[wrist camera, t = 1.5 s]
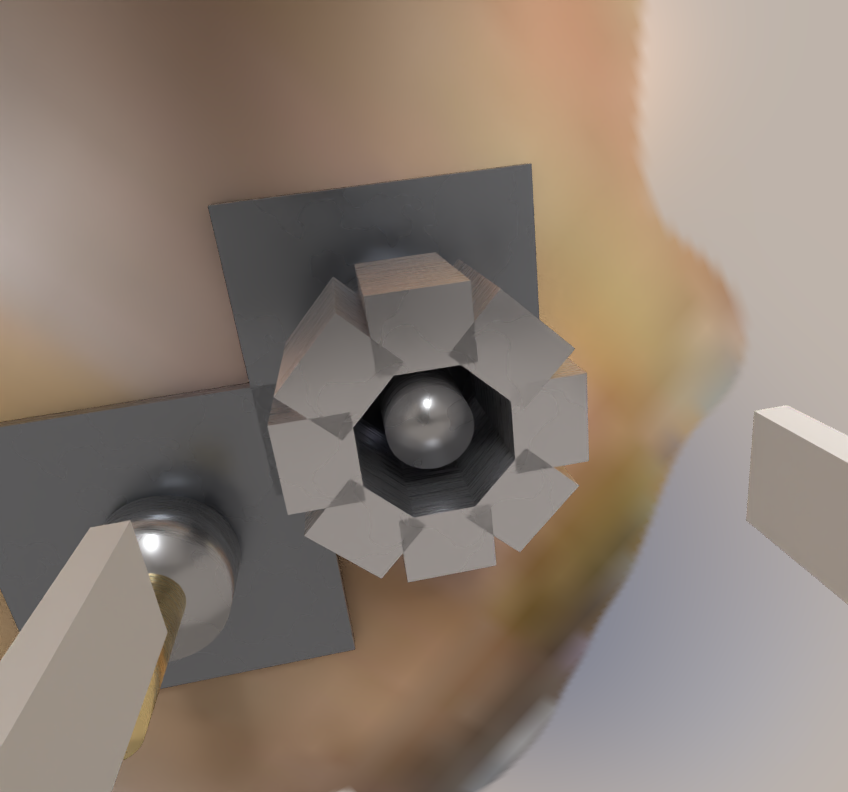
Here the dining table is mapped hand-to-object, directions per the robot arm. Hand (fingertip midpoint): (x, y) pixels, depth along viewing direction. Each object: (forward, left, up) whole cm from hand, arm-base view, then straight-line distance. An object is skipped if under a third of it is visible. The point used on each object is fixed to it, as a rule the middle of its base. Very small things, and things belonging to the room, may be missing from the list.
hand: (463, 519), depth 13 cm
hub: (+8, -11, -14) cm, 19 cm away
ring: (0, 0, -8) cm, 8 cm away
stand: (0, 0, -14) cm, 14 cm away
